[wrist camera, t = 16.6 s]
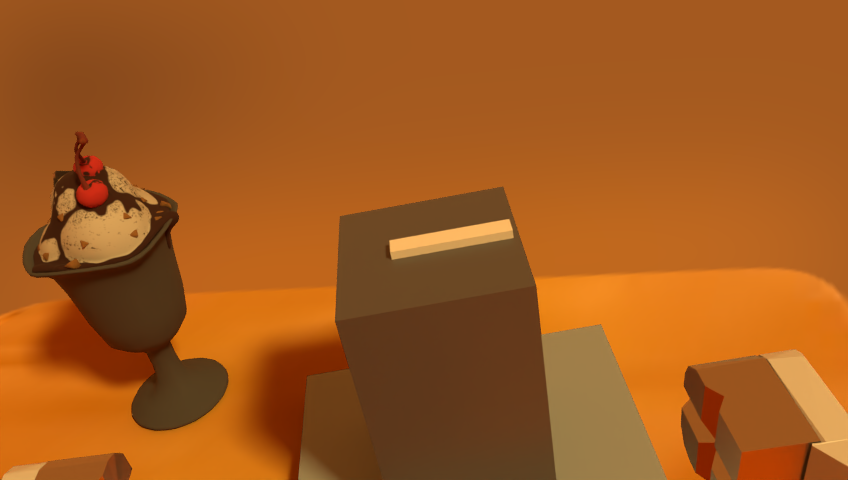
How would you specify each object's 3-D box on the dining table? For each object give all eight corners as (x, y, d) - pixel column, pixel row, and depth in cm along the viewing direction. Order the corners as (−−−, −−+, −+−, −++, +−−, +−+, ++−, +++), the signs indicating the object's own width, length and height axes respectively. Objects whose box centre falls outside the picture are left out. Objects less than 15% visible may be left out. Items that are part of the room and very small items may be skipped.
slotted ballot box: (397, 527, 27) (332, 313, 22) (391, 408, 32) (337, 209, 27) (558, 500, 27) (535, 277, 22) (527, 384, 32) (502, 179, 27)
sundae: (229, 438, 35) (99, 153, 26) (94, 450, 35) (-72, 178, 27) (259, 343, 40) (159, 82, 32) (142, 355, 41) (15, 104, 33)
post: (297, 647, 26) (222, 496, 21) (314, 398, 36) (266, 259, 31) (697, 581, 25) (708, 412, 21) (602, 348, 35) (595, 200, 31)
